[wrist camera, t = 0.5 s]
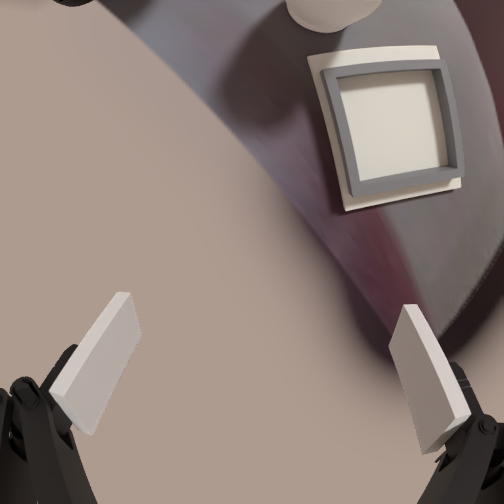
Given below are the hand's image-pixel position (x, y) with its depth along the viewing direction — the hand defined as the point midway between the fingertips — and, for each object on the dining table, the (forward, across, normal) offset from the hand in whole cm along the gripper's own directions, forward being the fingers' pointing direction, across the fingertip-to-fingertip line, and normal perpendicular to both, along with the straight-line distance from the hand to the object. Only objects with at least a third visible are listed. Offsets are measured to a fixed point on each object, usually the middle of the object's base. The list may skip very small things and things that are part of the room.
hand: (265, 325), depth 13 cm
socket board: (+26, +15, +10) cm, 32 cm away
